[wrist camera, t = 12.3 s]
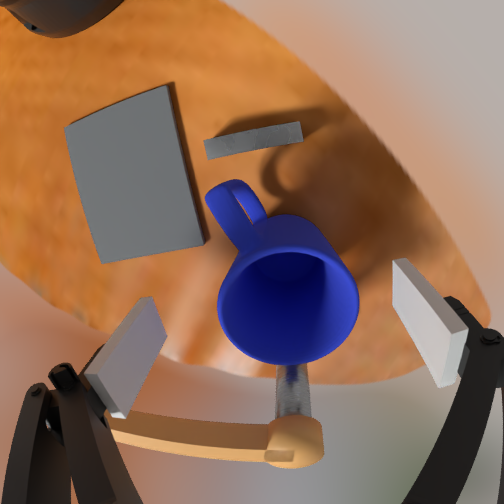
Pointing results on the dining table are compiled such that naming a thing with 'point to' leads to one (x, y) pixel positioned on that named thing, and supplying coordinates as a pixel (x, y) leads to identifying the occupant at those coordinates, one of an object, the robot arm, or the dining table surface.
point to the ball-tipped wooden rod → (225, 438)
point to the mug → (280, 283)
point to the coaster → (134, 178)
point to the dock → (287, 376)
